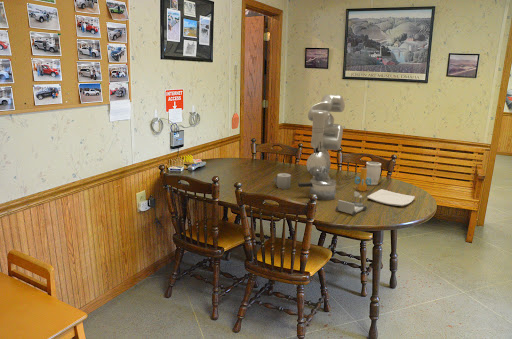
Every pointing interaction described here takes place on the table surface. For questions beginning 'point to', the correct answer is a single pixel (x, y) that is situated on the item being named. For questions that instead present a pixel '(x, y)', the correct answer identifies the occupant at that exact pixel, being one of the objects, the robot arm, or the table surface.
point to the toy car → (351, 206)
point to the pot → (321, 187)
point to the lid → (318, 164)
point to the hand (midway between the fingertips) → (316, 158)
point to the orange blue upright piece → (363, 180)
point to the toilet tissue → (283, 180)
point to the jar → (373, 172)
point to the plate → (391, 198)
